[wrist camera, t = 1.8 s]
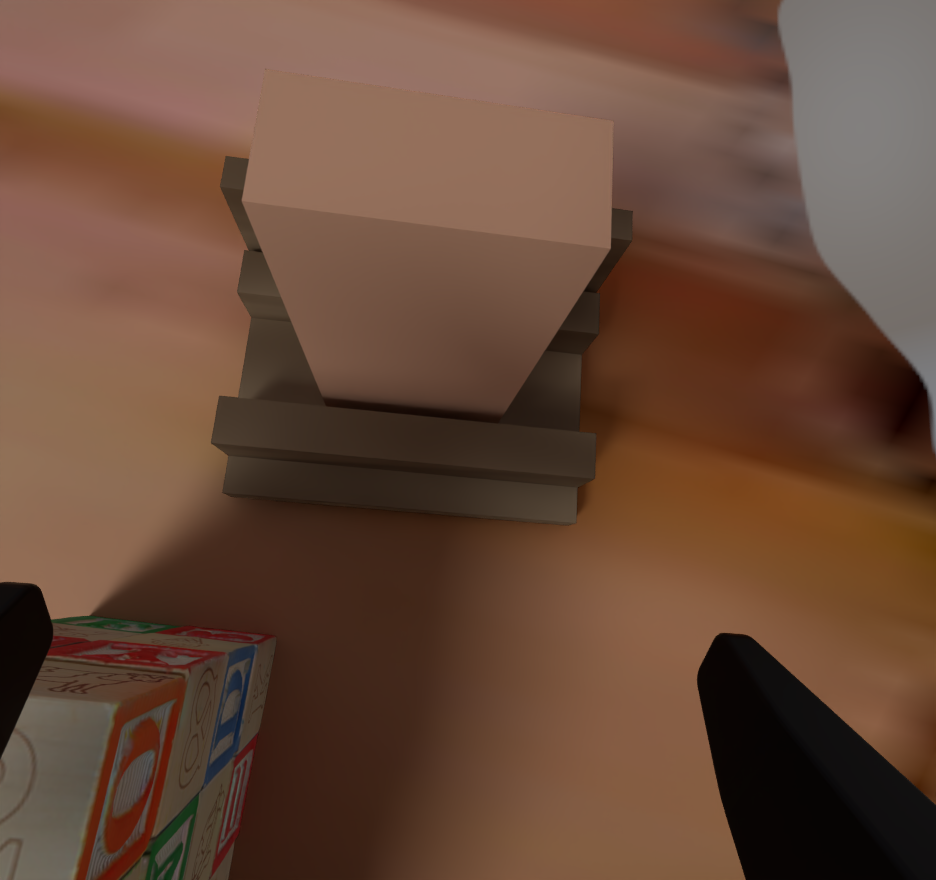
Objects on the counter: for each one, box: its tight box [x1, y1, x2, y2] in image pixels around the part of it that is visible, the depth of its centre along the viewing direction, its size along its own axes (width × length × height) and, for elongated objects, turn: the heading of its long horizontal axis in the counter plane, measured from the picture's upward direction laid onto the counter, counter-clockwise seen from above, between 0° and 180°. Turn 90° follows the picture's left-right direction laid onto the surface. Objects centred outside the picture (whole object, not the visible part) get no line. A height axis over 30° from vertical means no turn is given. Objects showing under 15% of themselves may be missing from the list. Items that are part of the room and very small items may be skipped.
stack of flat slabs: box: [211, 156, 633, 525], centre depth 20 cm, size 9×12×6 cm
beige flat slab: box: [242, 69, 614, 424], centre depth 16 cm, size 2×6×12 cm, turn 85°
